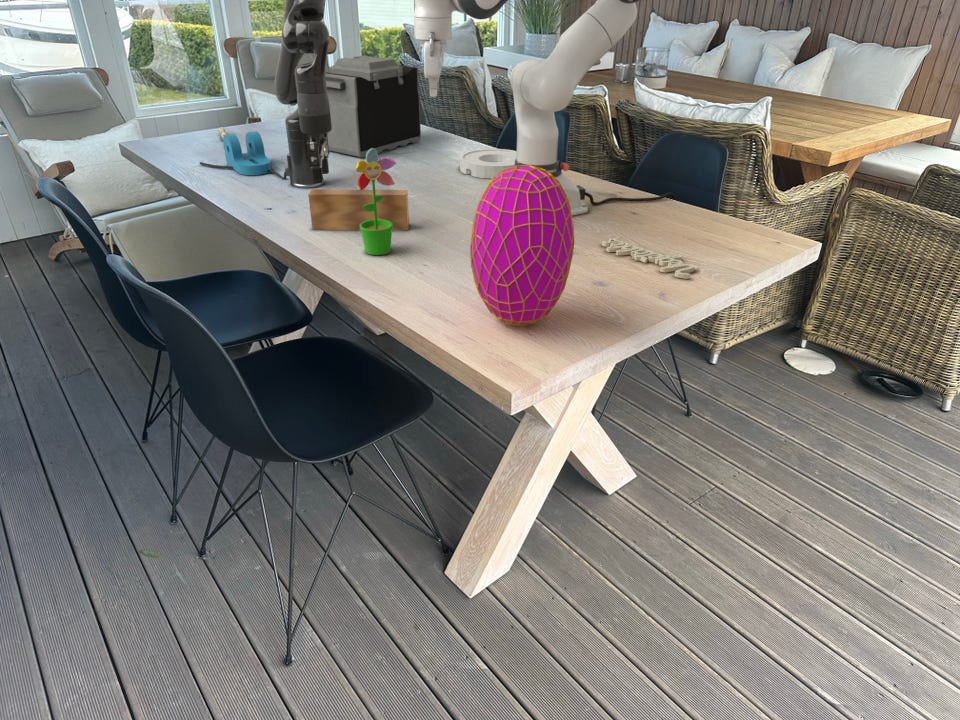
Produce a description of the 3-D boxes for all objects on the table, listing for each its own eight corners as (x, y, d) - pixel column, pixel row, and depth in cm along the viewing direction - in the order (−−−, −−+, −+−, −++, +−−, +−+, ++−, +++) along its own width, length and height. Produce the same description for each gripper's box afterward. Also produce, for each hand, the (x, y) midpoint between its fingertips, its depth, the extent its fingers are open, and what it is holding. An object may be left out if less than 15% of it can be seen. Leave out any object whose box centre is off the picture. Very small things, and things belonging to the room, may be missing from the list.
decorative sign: (710, 264, 159) (686, 276, 153) (709, 268, 159) (685, 280, 153) (618, 234, 175) (593, 244, 169) (618, 238, 176) (593, 247, 170)
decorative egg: (525, 353, 124) (534, 190, 109) (449, 319, 135) (447, 167, 120) (586, 318, 136) (602, 167, 121) (512, 290, 148) (517, 148, 132)
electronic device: (383, 133, 276) (378, 52, 261) (425, 141, 265) (422, 56, 250) (314, 150, 251) (304, 61, 235) (358, 160, 240) (350, 67, 224)
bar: (312, 229, 179) (308, 194, 174) (315, 224, 183) (311, 189, 178) (407, 230, 180) (406, 194, 175) (409, 224, 184) (407, 189, 179)
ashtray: (461, 159, 242) (461, 148, 240) (527, 160, 241) (527, 149, 239) (457, 177, 222) (457, 165, 220) (529, 179, 221) (529, 166, 219)
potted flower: (366, 259, 162) (357, 151, 149) (355, 248, 168) (346, 144, 155) (403, 252, 166) (398, 147, 153) (391, 242, 172) (385, 139, 159)
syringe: (218, 132, 274) (216, 125, 272) (227, 131, 275) (226, 124, 274) (222, 147, 254) (220, 139, 252) (232, 146, 255) (231, 138, 254)
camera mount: (227, 164, 233) (221, 132, 227) (257, 160, 238) (252, 129, 233) (244, 176, 220) (239, 143, 215) (276, 172, 225) (271, 139, 220)
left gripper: (324, 117, 160) (332, 186, 168) (334, 106, 173) (340, 170, 181) (292, 117, 160) (301, 186, 168) (304, 106, 172) (312, 170, 181)
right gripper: (445, 35, 152) (446, 100, 159) (447, 26, 170) (448, 86, 177) (416, 34, 152) (419, 100, 159) (422, 26, 170) (423, 85, 177)
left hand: (321, 178), depth 175 cm, fingers open, 8 cm apart
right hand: (434, 92), depth 168 cm, fingers open, 8 cm apart
